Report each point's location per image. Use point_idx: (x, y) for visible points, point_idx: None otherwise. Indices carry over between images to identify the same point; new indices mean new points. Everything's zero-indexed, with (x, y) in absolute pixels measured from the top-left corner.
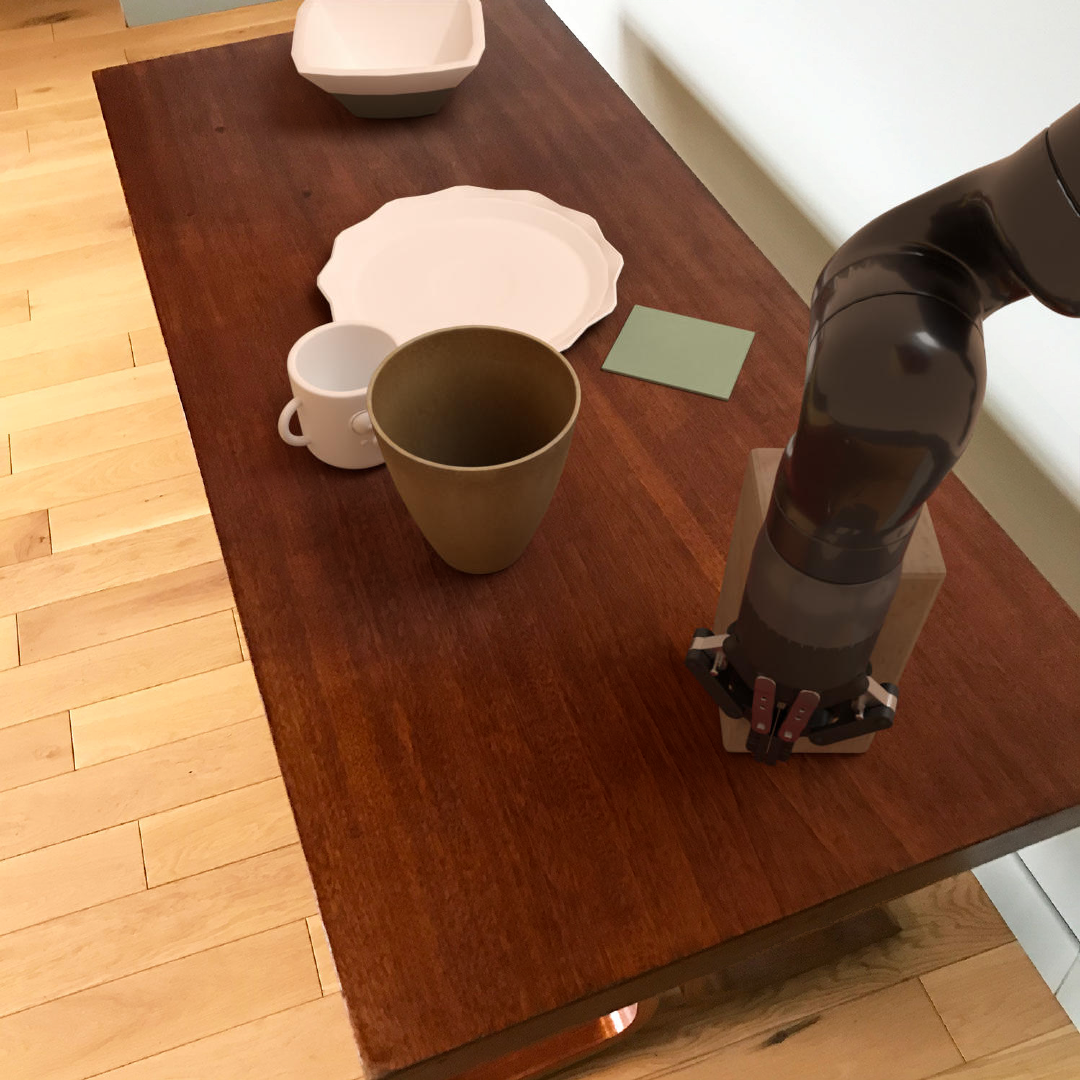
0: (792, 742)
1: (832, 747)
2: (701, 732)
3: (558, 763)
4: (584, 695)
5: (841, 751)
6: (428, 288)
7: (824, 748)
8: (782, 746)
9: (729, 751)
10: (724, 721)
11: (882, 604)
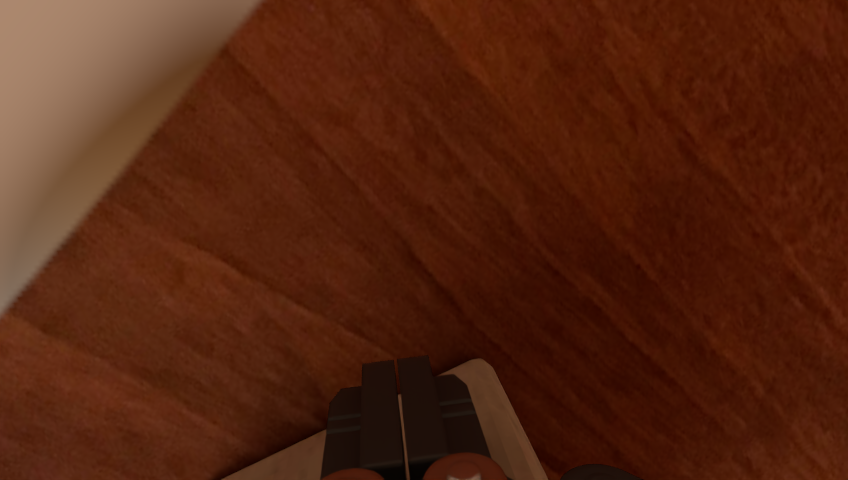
0: (329, 469)
1: (266, 471)
2: (541, 373)
3: (807, 167)
4: (792, 339)
5: (248, 469)
6: None
7: (283, 460)
8: (359, 436)
9: (474, 359)
10: (517, 420)
11: None
